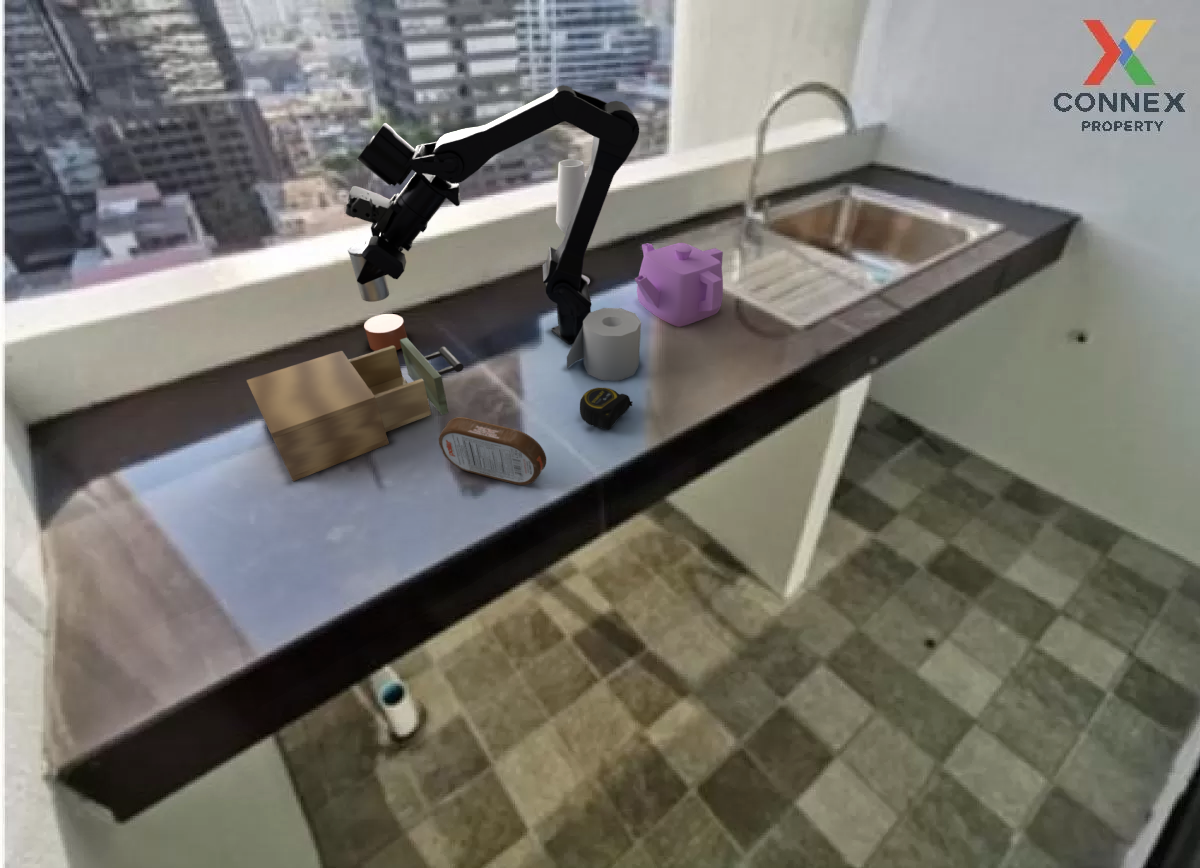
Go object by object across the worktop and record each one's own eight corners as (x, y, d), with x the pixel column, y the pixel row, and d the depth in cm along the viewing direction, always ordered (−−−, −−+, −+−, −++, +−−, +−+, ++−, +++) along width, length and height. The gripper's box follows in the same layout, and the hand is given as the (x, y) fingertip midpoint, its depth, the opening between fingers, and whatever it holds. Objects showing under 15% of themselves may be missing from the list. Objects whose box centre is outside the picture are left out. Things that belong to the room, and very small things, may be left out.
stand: (413, 344, 110) (409, 325, 107) (377, 356, 106) (371, 337, 104) (399, 329, 114) (395, 310, 111) (364, 340, 111) (358, 320, 108)
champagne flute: (580, 271, 133) (577, 155, 117) (596, 283, 128) (595, 164, 113) (553, 278, 130) (546, 161, 115) (568, 291, 126) (564, 170, 110)
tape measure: (608, 437, 90) (609, 418, 87) (571, 421, 93) (570, 402, 90) (632, 413, 94) (633, 394, 92) (595, 399, 97) (595, 380, 95)
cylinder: (393, 296, 103) (382, 248, 97) (367, 304, 101) (353, 256, 95) (383, 286, 106) (371, 239, 100) (357, 294, 104) (343, 246, 98)
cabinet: (356, 395, 98) (341, 350, 92) (389, 443, 89) (375, 396, 83) (267, 426, 92) (246, 380, 86) (293, 481, 83) (270, 433, 77)
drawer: (442, 362, 103) (435, 328, 99) (478, 401, 95) (472, 365, 91) (340, 398, 96) (327, 362, 91) (369, 443, 87) (357, 406, 83)
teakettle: (719, 332, 113) (728, 270, 105) (629, 324, 115) (632, 263, 107) (721, 290, 126) (729, 232, 118) (640, 284, 128) (643, 226, 120)
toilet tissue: (555, 368, 104) (553, 324, 98) (618, 345, 109) (619, 302, 104) (584, 394, 98) (583, 349, 92) (649, 368, 104) (651, 324, 98)
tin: (549, 479, 83) (545, 432, 78) (539, 494, 81) (535, 447, 75) (452, 455, 87) (442, 408, 81) (441, 469, 85) (430, 422, 79)
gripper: (377, 151, 98) (326, 223, 103) (360, 190, 83) (302, 270, 89) (436, 198, 104) (384, 263, 109) (428, 241, 89) (370, 313, 95)
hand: (361, 275), depth 101 cm, fingers closed on cylinder, 4 cm apart
